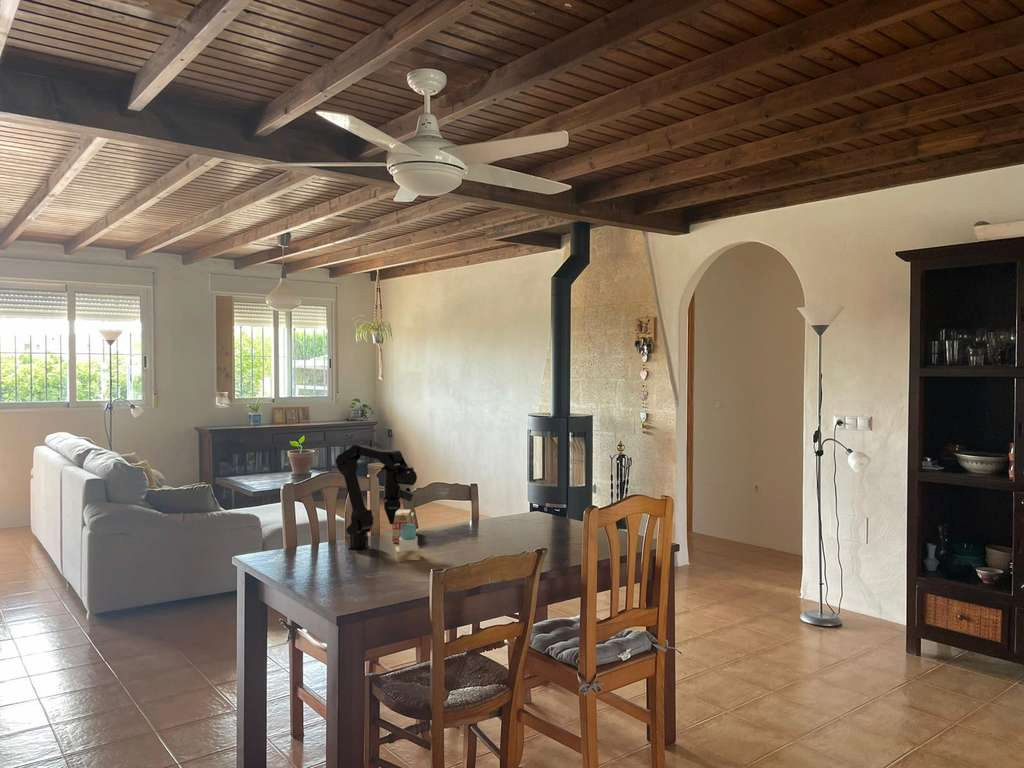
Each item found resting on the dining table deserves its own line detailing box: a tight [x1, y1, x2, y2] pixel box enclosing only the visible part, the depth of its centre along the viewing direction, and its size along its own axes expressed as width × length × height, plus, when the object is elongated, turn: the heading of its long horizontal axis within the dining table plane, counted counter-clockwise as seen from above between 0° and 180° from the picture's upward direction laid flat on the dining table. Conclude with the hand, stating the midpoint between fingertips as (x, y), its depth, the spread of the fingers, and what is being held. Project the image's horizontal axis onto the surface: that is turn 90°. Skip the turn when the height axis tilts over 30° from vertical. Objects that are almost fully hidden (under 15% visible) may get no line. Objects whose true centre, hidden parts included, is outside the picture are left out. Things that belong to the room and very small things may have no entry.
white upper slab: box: [398, 535, 418, 551], centre depth 302 cm, size 7×7×4 cm
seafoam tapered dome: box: [401, 523, 417, 540], centre depth 302 cm, size 6×6×5 cm
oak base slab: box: [395, 545, 421, 562], centre depth 302 cm, size 9×9×4 cm
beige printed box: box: [391, 509, 415, 542], centre depth 339 cm, size 21×6×12 cm, turn 179°
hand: (391, 521), depth 309 cm, fingers open, 9 cm apart
